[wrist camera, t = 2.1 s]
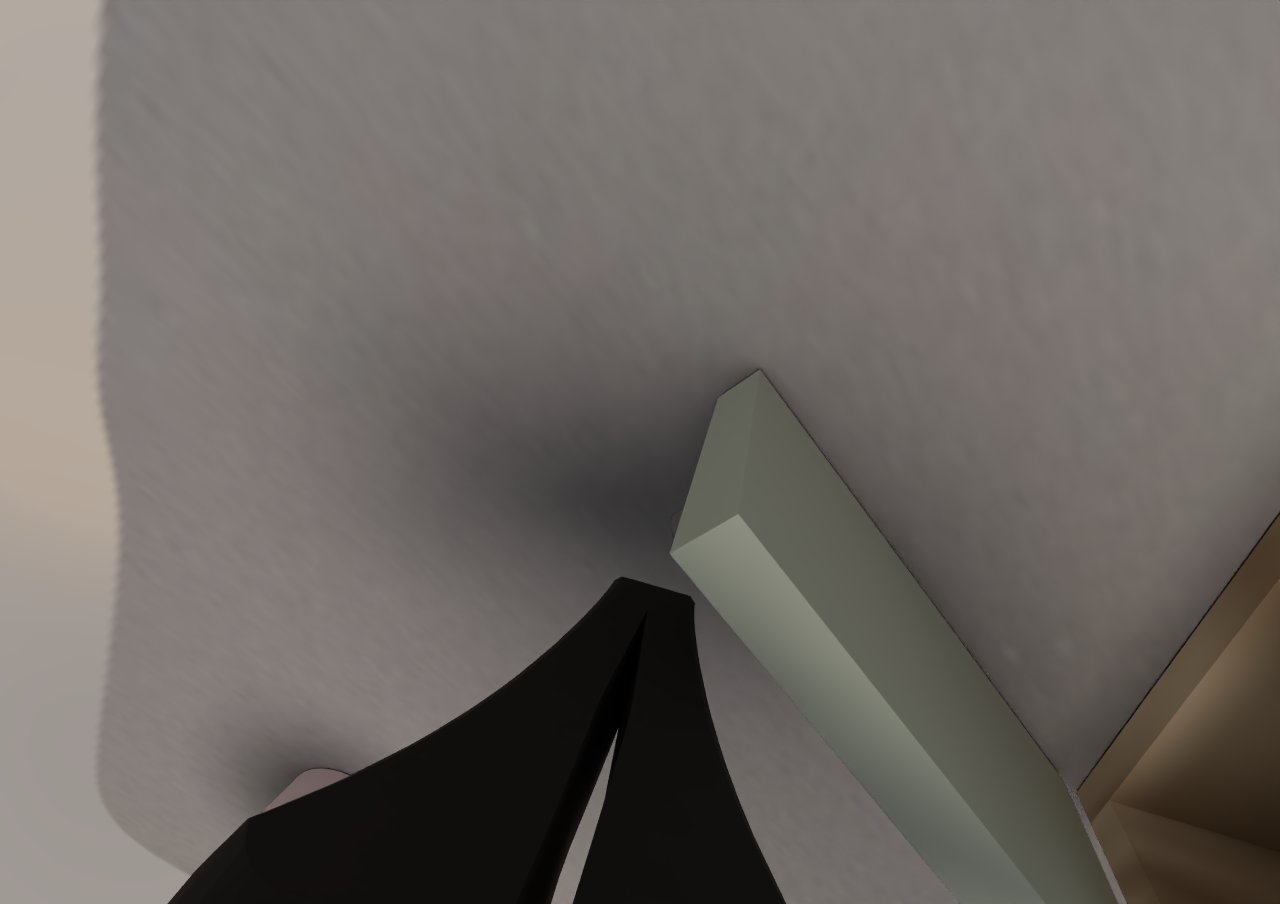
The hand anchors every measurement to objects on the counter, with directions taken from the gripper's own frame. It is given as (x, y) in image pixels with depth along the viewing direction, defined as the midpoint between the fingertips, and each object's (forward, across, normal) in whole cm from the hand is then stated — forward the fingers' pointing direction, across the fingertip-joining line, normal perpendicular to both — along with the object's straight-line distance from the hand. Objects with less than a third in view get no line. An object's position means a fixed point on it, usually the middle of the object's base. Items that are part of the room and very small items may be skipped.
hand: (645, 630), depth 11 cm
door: (+3, -5, 0) cm, 6 cm away
